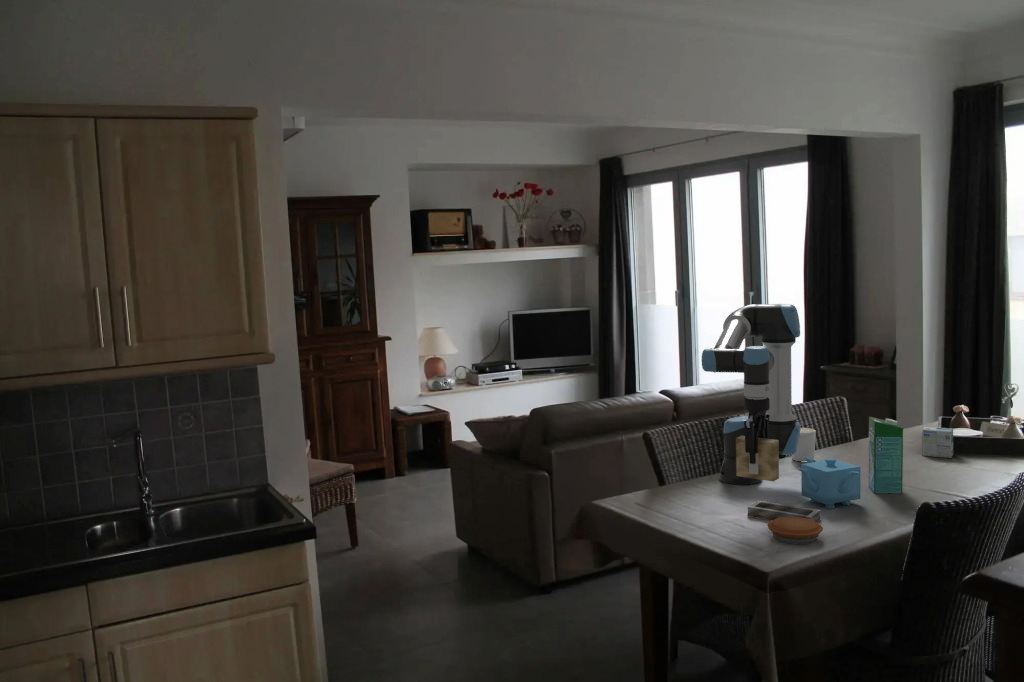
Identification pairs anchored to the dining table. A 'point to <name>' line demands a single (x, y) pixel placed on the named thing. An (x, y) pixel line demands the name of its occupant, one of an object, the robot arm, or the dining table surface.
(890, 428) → the milk carton
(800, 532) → the pie
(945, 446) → the light bulb box
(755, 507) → the tray
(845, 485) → the blue lidded box
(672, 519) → the dining table surface
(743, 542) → the dining table surface
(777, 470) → the beige square slab
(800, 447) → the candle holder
